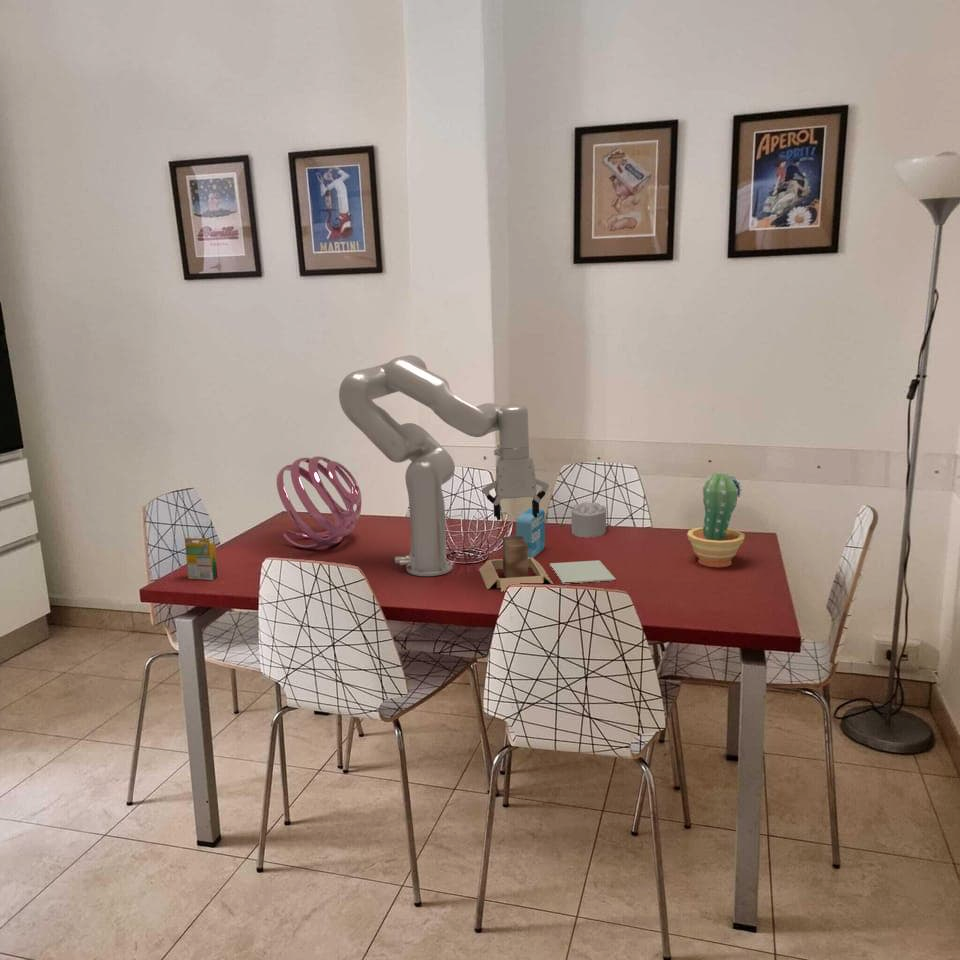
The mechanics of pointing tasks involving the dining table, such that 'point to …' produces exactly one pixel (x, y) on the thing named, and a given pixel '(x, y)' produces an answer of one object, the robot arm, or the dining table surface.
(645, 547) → the dining table surface
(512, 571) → the walnut box
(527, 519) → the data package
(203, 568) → the crayon box
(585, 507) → the lumpy-topped squat cylinder
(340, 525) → the spiral basket
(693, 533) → the potted cactus
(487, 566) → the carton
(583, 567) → the plate
